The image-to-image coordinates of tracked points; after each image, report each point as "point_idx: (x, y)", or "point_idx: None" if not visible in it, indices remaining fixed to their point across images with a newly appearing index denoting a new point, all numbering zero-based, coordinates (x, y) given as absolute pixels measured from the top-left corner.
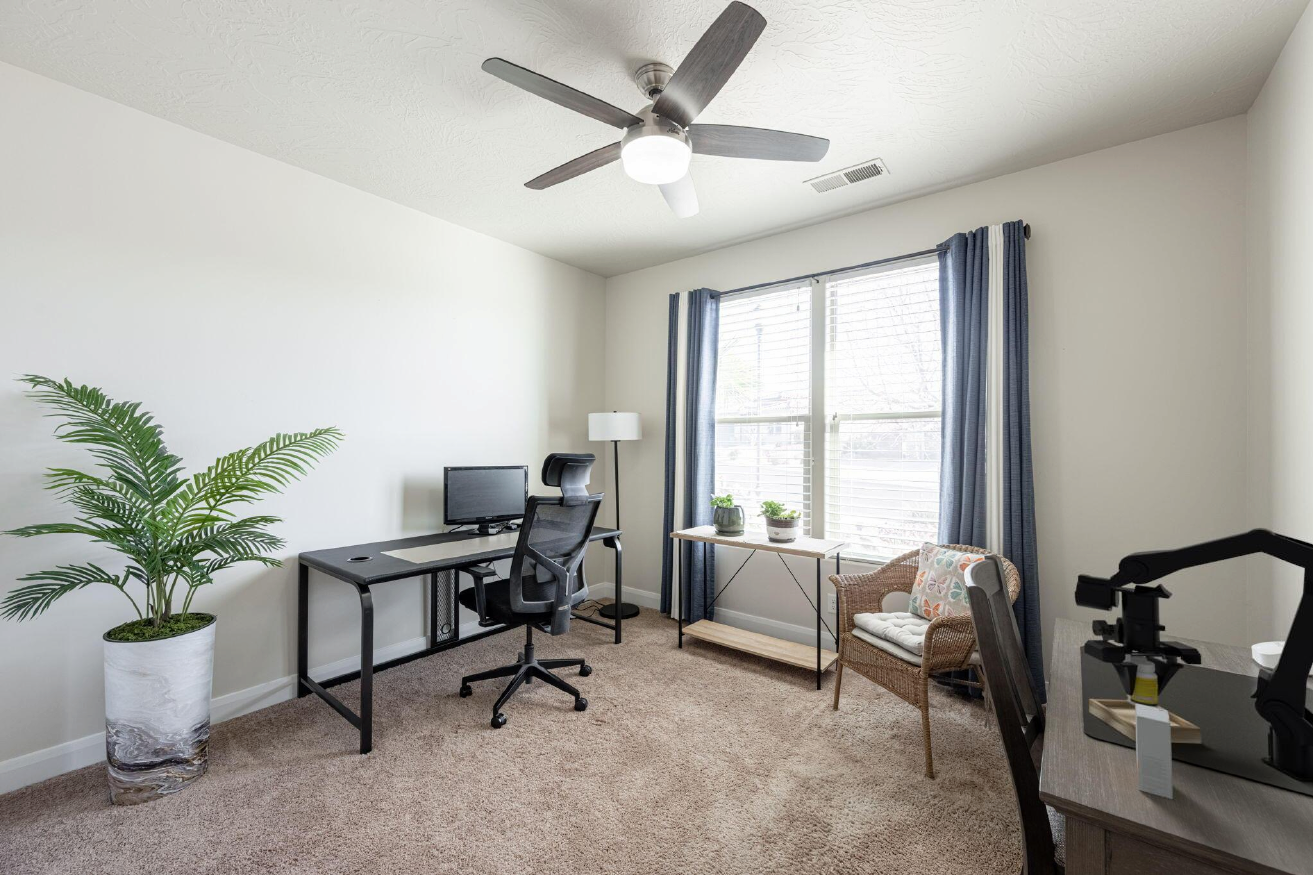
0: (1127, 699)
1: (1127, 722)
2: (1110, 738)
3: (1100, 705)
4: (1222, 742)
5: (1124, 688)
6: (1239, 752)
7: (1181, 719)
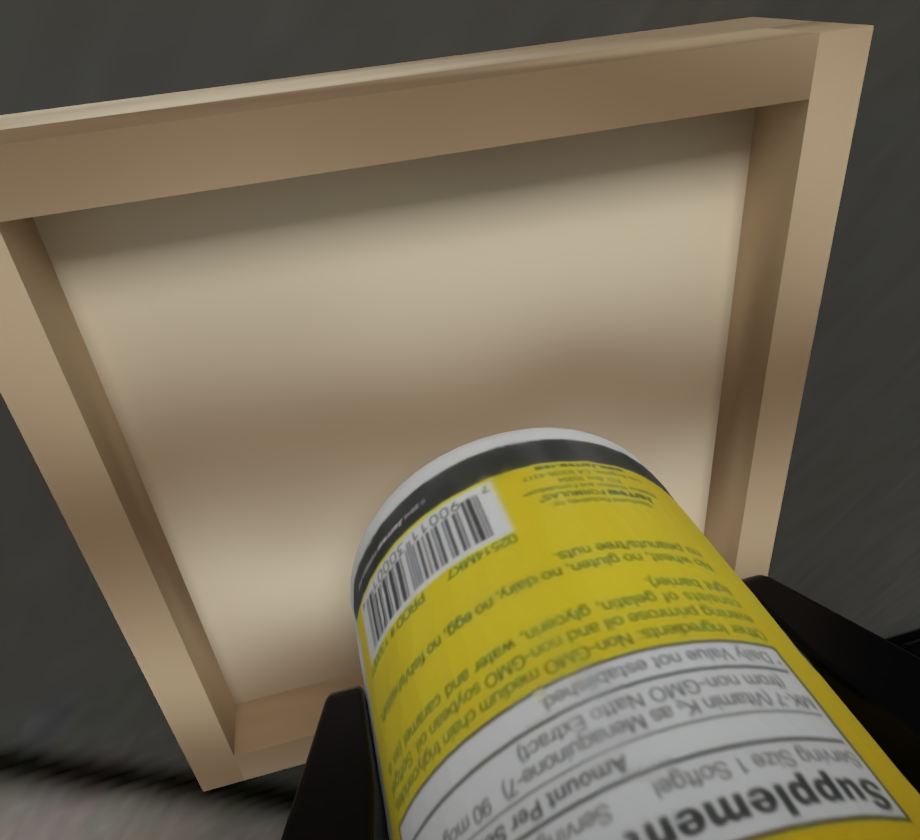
0: (359, 558)
1: (177, 739)
2: (14, 707)
3: (17, 407)
4: (848, 498)
5: (306, 773)
6: (814, 598)
7: (757, 517)
